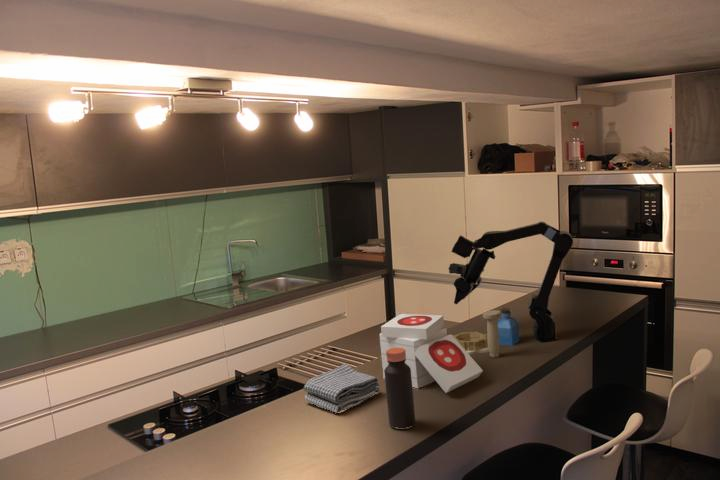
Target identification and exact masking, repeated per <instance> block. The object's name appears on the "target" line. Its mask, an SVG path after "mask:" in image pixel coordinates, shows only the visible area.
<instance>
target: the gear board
mask: <svg viewBox="0 0 720 480" xmlns="http://www.w3.org/2000/svg"><path fill="white" fill-rule="evenodd" d="M452 336H453V337H454V338H455V339H456V340H457V341H458V343H459V344H460V345H461V346H462V347H463V348H464V349H465V351H466V352H467V353H468V354H469V355H470V356H472V355H478V354H485V353H489V350H488V342H487V333H481V332H479V331H467V332H466V331H461V332H460V333H458V334H457V333H456V334H453V335H452Z"/></svg>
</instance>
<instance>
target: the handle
mask: <svg viewBox="0 0 720 480" xmlns="http://www.w3.org/2000/svg"><path fill="white" fill-rule="evenodd" d="M500 316H501V310H494V309H491V310H487V311H484V312H483V313H482V319H484V320H486V331H487V333H486V334H487V342H488V350H489V352H488V353H489V357H490V358H494V359H495V358H499V356H500V348H501V347H500V346H501V344H500V342H499V333H498V325H497V322H498V320H499V319H500Z"/></svg>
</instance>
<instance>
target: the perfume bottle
mask: <svg viewBox="0 0 720 480" xmlns="http://www.w3.org/2000/svg"><path fill="white" fill-rule="evenodd" d="M500 316H501V318H500V317H499V318H498V319H497V325H498V333H499V342H500V345H501V346H502V345H503V346H504V345H505V346H512V347H513V346H514V345H516V344H517V343H518V342H519V341H520V331H519V329H520V327H519V322H518V321H517V320H516V319H515V318H514V317H511V316H512V312H511V309H510V308H507V307H504V308H501V309H500Z"/></svg>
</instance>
